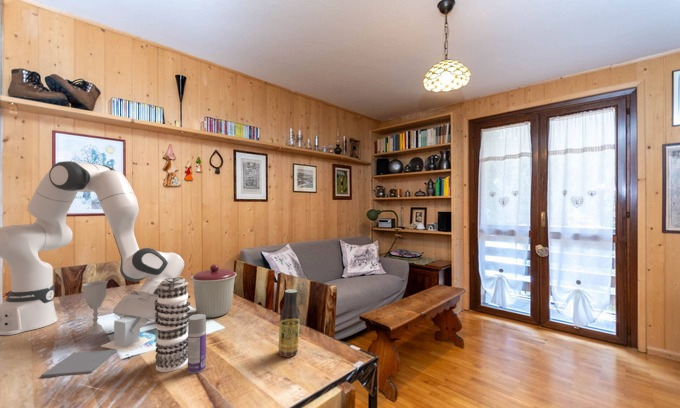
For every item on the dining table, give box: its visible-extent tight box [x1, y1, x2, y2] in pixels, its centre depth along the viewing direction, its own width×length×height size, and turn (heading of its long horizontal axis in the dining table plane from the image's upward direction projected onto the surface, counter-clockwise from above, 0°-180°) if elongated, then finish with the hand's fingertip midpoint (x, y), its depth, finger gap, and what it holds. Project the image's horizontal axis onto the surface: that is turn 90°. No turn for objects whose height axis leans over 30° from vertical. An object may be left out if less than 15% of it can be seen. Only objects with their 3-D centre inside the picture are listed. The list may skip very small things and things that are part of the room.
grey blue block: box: [113, 316, 141, 347], centre depth 98 cm, size 5×5×8 cm
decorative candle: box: [154, 276, 191, 373], centre depth 86 cm, size 9×9×25 cm
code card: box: [101, 336, 153, 353], centre depth 98 cm, size 12×9×1 cm
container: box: [187, 313, 207, 375], centre depth 83 cm, size 5×5×15 cm
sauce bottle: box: [278, 288, 300, 358], centre depth 93 cm, size 7×6×20 cm
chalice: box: [82, 280, 109, 336], centre depth 107 cm, size 7×7×18 cm
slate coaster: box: [40, 349, 118, 379], centre depth 86 cm, size 12×12×1 cm
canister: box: [190, 264, 237, 319], centre depth 126 cm, size 18×18×21 cm
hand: (125, 331), depth 98 cm, fingers closed on grey blue block, 5 cm apart
